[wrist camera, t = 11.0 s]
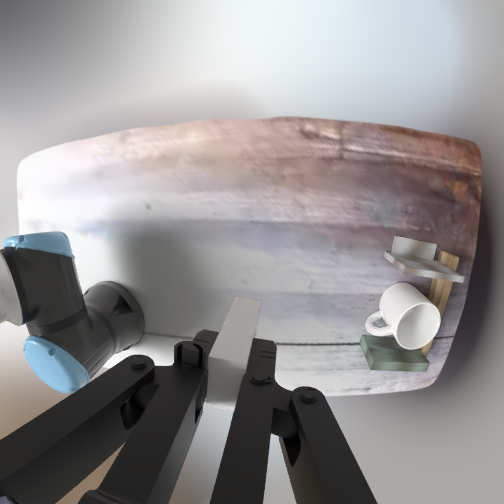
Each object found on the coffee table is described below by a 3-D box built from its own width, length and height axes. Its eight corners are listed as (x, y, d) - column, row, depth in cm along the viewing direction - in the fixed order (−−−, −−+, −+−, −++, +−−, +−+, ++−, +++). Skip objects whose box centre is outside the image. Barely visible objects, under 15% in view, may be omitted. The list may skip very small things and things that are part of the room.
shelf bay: (357, 350, 52) (368, 381, 42) (388, 234, 46) (411, 246, 37) (413, 354, 51) (430, 382, 41) (447, 246, 45) (475, 259, 36)
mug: (362, 333, 51) (376, 363, 41) (355, 294, 49) (369, 320, 39) (419, 314, 49) (441, 339, 39) (415, 275, 47) (439, 295, 37)
